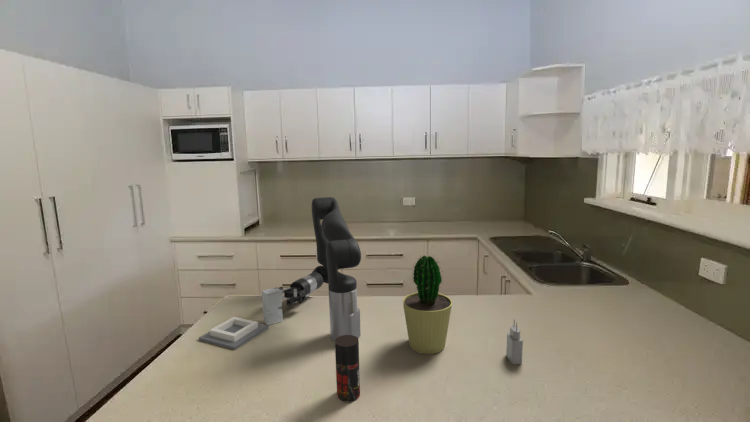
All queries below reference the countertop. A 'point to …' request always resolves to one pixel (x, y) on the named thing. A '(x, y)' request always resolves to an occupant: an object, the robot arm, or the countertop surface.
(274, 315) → the skincare box
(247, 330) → the socket plate
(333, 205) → the robot arm
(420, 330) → the potted cactus
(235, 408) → the countertop surface
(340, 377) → the deodorant
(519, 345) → the power adapter
